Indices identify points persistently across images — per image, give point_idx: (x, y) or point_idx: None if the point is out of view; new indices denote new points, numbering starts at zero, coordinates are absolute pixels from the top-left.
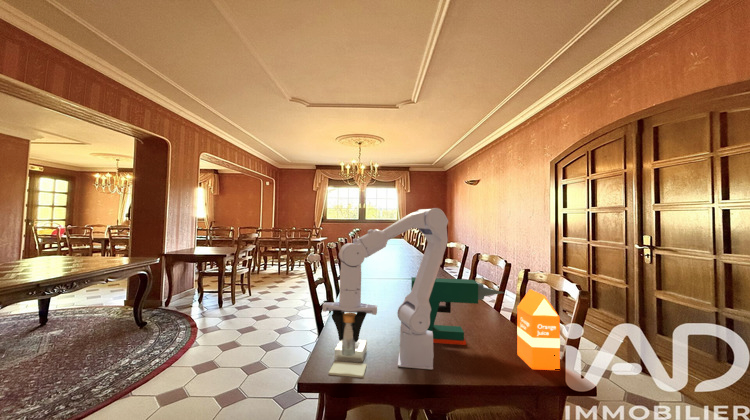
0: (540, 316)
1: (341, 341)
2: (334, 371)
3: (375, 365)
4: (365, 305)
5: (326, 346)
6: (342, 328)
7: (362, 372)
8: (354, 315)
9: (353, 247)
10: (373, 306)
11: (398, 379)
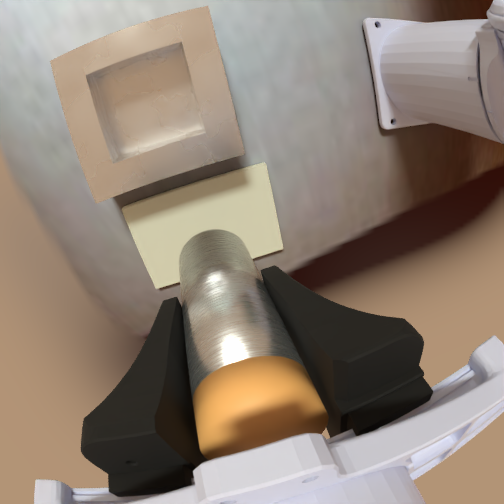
0: None
1: (71, 96)
2: (170, 274)
3: (296, 142)
4: (451, 421)
5: (3, 95)
6: (182, 355)
7: (273, 232)
8: (316, 429)
9: None
10: (500, 408)
11: (387, 203)
